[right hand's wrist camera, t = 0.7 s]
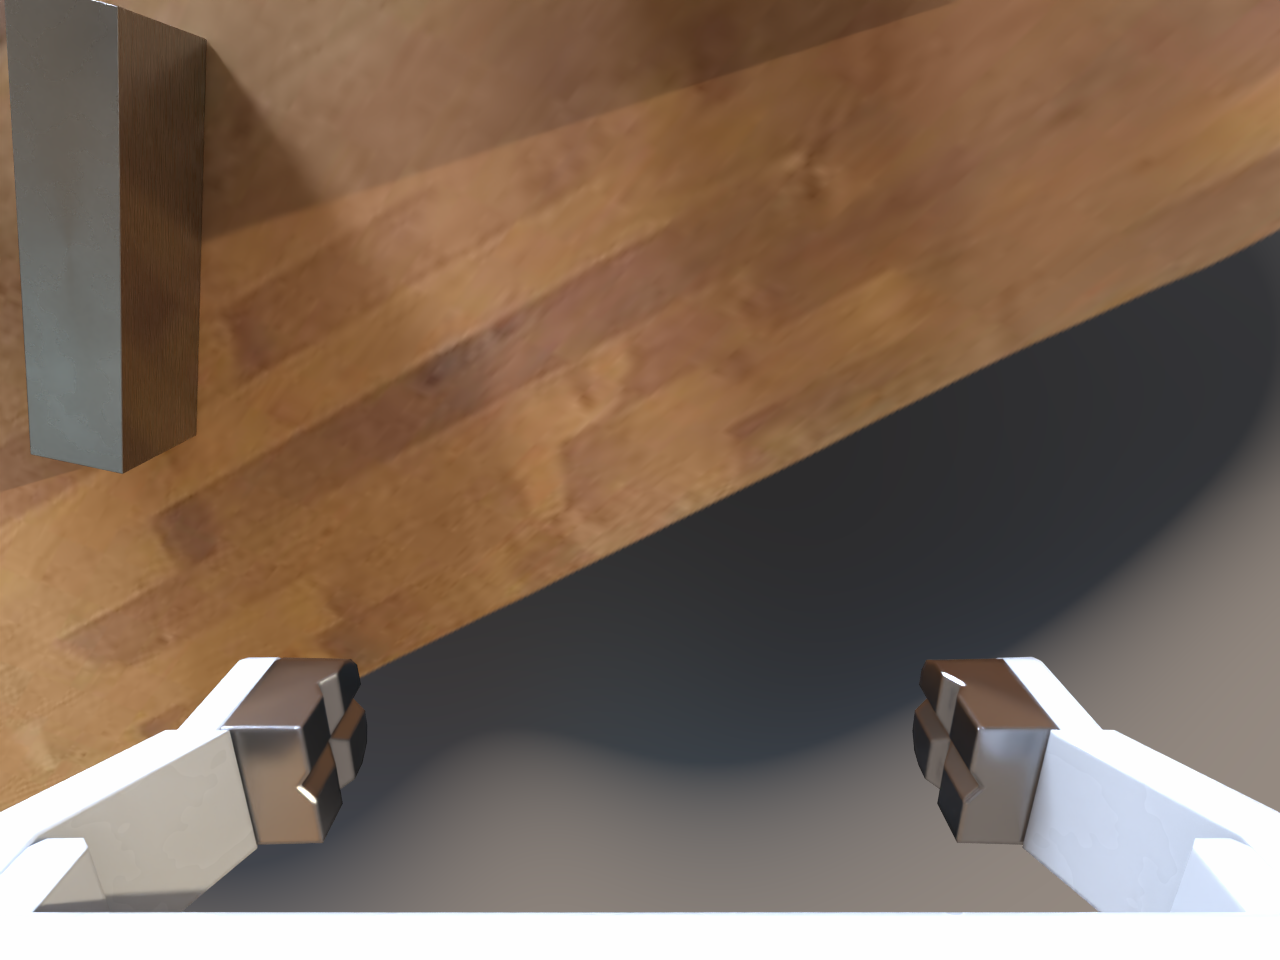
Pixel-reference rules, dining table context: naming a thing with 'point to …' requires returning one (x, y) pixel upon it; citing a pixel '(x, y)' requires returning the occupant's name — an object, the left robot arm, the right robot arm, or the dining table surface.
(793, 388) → the dining table surface
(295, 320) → the dining table surface
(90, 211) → the box
